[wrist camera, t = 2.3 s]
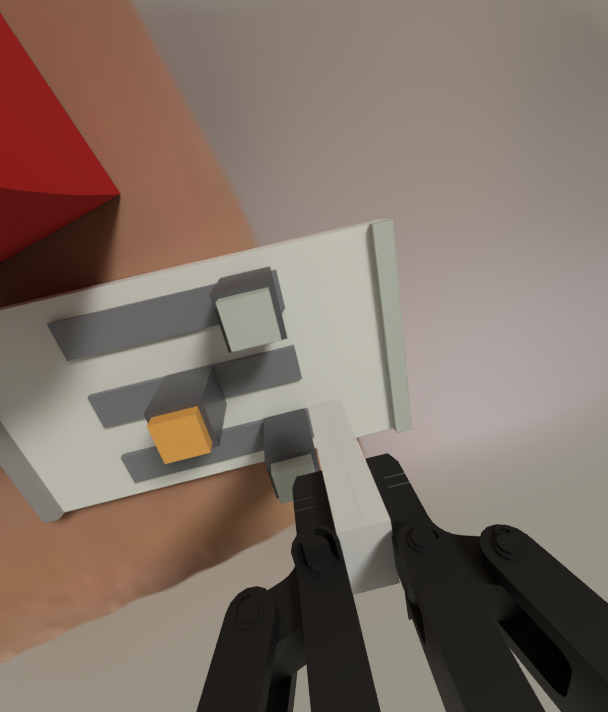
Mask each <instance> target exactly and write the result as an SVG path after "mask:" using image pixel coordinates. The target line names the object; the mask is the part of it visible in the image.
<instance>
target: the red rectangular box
mask: <svg viewBox="0 0 608 712" xmlns="http://www.w3.org/2000/svg"><path fill="white" fill-rule="evenodd" d="M119 194H120V192H119V191H118V189H117V188H116V186H115V185H114V183H113V182H112V180H111V179H110V177H109V176H108V174H107V173H106V171H105V170H104V168H103V167H102V165H101V164H100V162H99V161H98V159H97V158H96V156H95V155H94V153H93V152H92V150H91V149H90V147H89V146H88V144H87V143H86V141H85V140H84V138H83V137H82V135H81V134H80V132H79V131H78V129H77V128H76V126H75V125H74V123H73V122H72V120H71V119H70V117H69V116H68V114H67V113H66V111H65V110H64V108H63V107H62V105H61V104H60V102H59V101H58V99H57V98H56V96H55V95H54V93H53V92H52V90H51V89H50V87H49V86H48V84H47V83H46V81H45V80H44V78H43V77H42V75H41V74H40V72H39V71H38V69H37V68H36V66H35V65H34V63H33V62H32V60H31V59H30V57H29V56H28V54H27V53H26V51H25V50H24V48H23V47H22V45H21V44H20V42H19V41H18V39H17V38H16V36H15V35H14V33H13V32H12V30H11V29H10V27H9V26H8V24H7V23H6V21H5V20H4V18H3V17H2V15H1V14H0V263H1V262H3V261H5V260H7V259H8V258H10V257H12V256H14V255H15V254H17V253H19V252H20V251H22V250H24V249H26V248H27V247H29V246H31V245H33V244H34V243H36V242H38V241H40V240H41V239H43V238H45V237H46V236H48V235H50V234H52V233H53V232H55V231H57V230H59V229H60V228H62V227H64V226H66V225H67V224H69V223H71V222H72V221H74V220H76V219H78V218H79V217H81V216H83V215H85V214H86V213H88V212H90V211H91V210H93V209H95V208H97V207H98V206H100V205H102V204H104V203H105V202H107V201H109V200H111V199H112V198H114V197H116V196H117V195H119Z"/></svg>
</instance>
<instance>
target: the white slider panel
mask: <svg viewBox="0 0 608 712" xmlns="http://www.w3.org/2000/svg"><path fill="white" fill-rule="evenodd" d="M404 349H405V348H404V338H403V326H402V316H401V305H400V294H399V283H398V273H397V261H396V251H395V241H394V229H393V220H387V219H385V220H383V219H382V220H381V219H377V220H374V221H370V222H364V223H360V224H356V225H352V226H347V227H343V228H339V229H334V230H331V231H326V232H321V233H318V234H313V235H309V236H305V237H300V238H296V239H291V240H287V241H283V242H279V243H274V244H270V245H266V246H261V247H257V248H253V249H248V250H244V251H240V252H235V253H231V254H227V255H223V256H218V257H214V258H210V259H205V260H201V261H197V262H192V263H188V264H184V265H180V266H175V267H171V268H167V269H162V270H158V271H154V272H149V273H145V274H141V275H137V276H132V277H128V278H124V279H119V280H115V281H111V282H106V283H102V284H98V285H94V286H89V287H85V288H81V289H76V290H72V291H68V292H64V293H59V294H55V295H51V296H46V297H42V298H38V299H33V300H29V301H25V302H21V303H16V304H12V305H8V306H3V307H0V466H1V467H2V469H3V470H4V471H5V473H6V474H7V475H8V477H9V478H10V479H11V481H12V482H13V483H14V485H15V486H16V487H17V489H18V490H19V491H20V493H21V494H22V495H23V497H24V498H25V499H26V501H27V502H28V503H29V505H30V506H31V507H32V508H33V510H34V511H35V512H36V514H37V515H38V516H39V518H40V519H41V520H42V522H43V523H46V522H50V521H54V520H58V519H60V518H61V517H62V515H63V514H64V512H68V511H72V510H75V509H79V508H83V507H87V506H91V505H95V504H99V503H103V502H107V501H111V500H115V499H119V498H122V497H126V496H130V495H134V494H138V493H142V492H146V491H150V490H154V489H158V488H162V487H166V486H170V485H173V484H177V483H181V482H185V481H189V480H193V479H197V478H201V477H205V476H209V475H213V474H217V473H220V472H224V471H228V470H232V469H236V468H240V467H244V466H248V465H252V464H256V463H260V462H264V461H265V464H266V467H267V470H268V473H269V476H270V479H271V482H272V485H273V488H274V491H275V494H276V498H279V499H280V502H281V504H283V503H287V502H291V501H293V493H292V487H293V484H294V482H295V479H296V477H297V476H301V475H305V474H309V473H313V472H317V471H320V468H319V464H318V460H317V455H316V451H315V448H317V446H316V442H315V437H314V433H313V429H312V424H311V420H310V415H309V411H308V407H307V406H310V405H314V404H318V403H322V402H326V401H330V400H334V399H338V398H340V400H341V403H342V405H343V408H344V410H345V412H346V415H347V417H348V419H349V422H350V424H351V427H352V429H353V431H354V434H355V436H356V438H358V437H362V436H365V435H369V434H373V433H377V432H381V431H385V430H389V429H393V428H394V429H395V431H396V432H397V433H398V432H402V431H406V430H410V429H412V424H411V414H410V402H409V391H408V381H407V370H406V359H405V350H404ZM211 364H213V366H214V369H215V372H216V375H217V377H218V380H219V383H220V386H221V389H222V391H223V394H224V397H225V400H226V403H227V406H226V411H225V417H224V423H223V429H222V435H221V441H220V446H217V447H214V448H211V453H207V454H203V455H199V456H195V457H191V458H187V459H183V460H179V461H175V462H171V463H167V464H165V463H164V461H163V459H162V457H161V455H160V453H159V451H158V449H157V447H156V445H155V443H154V441H153V439H152V437H151V435H150V433H149V431H148V428H147V425H148V423H147V421H146V419H145V417H144V415H143V414H144V412H145V410H146V409H147V407H148V405H149V404H150V402H151V400H152V398H153V397H154V395H155V393H156V392H157V390H158V388H159V387H160V385H161V383H162V381H163V380H164V378H165V376H166V375H170V374H174V373H178V372H182V371H186V370H190V369H194V368H198V367H203V366H207V365H211Z"/></svg>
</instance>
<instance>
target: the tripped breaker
mask: <svg viewBox="0 0 608 712" xmlns="http://www.w3.org/2000/svg"><path fill="white" fill-rule="evenodd" d="M226 406H227V403H226V400H225V397H224V394H223V391H222V389H221V386H220V383H219V380H218V377H217V375H216V372H215V369H214V366H213V364H211V365H207V366H203V367H198V368H194V369H190V370H186V371H182V372H178V373H174V374H170V375H166V376H165V378H164V380H163V381H162V383H161V385H160V387H159V388H158V390H157V392H156V393H155V395H154V397H153V398H152V400H151V402H150V404H149V405H148V407H147V409H146V410H145V412H144V414H143V415H144V417H145V419H146V421H147V423H148V425H147V428H148V431H149V433H150V435H151V437H152V439H153V441H154V443H155V445H156V447H157V449H158V451H159V453H160V455H161V457H162V459H163V461H164V463H165V464H167V463H171V462H175V461H179V460H183V459H187V458H191V457H195V456H199V455H203V454H207V453H211V448H214V447H217V446H220V441H221V435H222V429H223V423H224V417H225V411H226Z"/></svg>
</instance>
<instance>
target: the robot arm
mask: <svg viewBox="0 0 608 712" xmlns="http://www.w3.org/2000/svg"><path fill="white" fill-rule="evenodd" d="M307 407H308V411H309V415H310V420H311V424H312V429H313V433H314V437H315V442H316V446H317V450H318V455H319V459H320V464H321V468H322V470H321V471H317V472H313V473H309V474H305V475H301V476H297V477H296V479H295V482H294V484H293V487H292V493H293V501H294V511H295V522H296V531H297V535H296V537H295V539H294V541H293V543H292V548H291V554H292V557H293V560H294V563H295V567H294V569H293V571H292V572H291V573H290V574H289V576H288V577H286V578H285V579H284V580H283V581H281V582H280V583H278V584H277V585H275V586H274V587H272V588H271V589H269V590H266V589H265V588H262V587H257V586H255V587H250V588H247V589H245V590H243V591H242V592H241V593H239V594H238V595H237V596H236V597H235V598H234V599H233V601H232V602H231V603H230V605H229V607H228V610H227V612H226V614H225V617H224V621H223V624H222V628H221V631H220V634H219V638H218V641H217V644H216V648H215V651H214V654H213V658H212V661H211V664H210V668H209V671H208V675H207V678H206V681H205V685H204V688H203V692H202V695H201V698H200V701H199V705H198V708H197V712H293V706H294V697H295V688H296V679H297V671H298V670H299V669H300V668H302V667H303V666H305V665H306V664H307V674H308V683H309V684H308V685H309V695H310V705H311V712H381V711H380V707H379V702H378V698H377V694H376V690H375V686H374V682H373V678H372V673H371V669H370V665H369V660H368V656H367V652H366V648H365V644H364V640H363V636H362V631H361V627H360V623H359V619H358V614H357V610H356V606H355V602H354V597H353V595H354V594H358V593H362V592H366V591H369V590H374V589H377V588H382V587H386V586H390V585H394V584H397V583H400V582H399V578H400V580H401V583H402V586H403V588H404V591H405V598H406V605H407V612H408V618H409V620H410V619H412V620H413V622H414V625H415V628H416V631H417V634H418V636H419V639H420V642H421V645H422V647H423V650H424V653H425V655H426V658H427V661H428V664H429V666H430V669H431V672H432V675H433V677H434V680H435V683H436V686H437V688H438V691H439V694H440V696H441V699H442V702H443V705H444V707H445V710H446V712H545V710H544V708H543V707H542V705H541V703H540V701H539V700H538V698H537V696H536V695H535V693H534V691H533V689H532V687H531V686H530V684H529V682H528V680H527V678H526V677H525V675H524V673H523V672H522V670H521V668H520V667H519V664H518V663H517V661H516V659H515V657H514V656H513V654H512V652H511V650H512V651H513V653H514V654H515V655H516V656H517V658H518V659H519V660H520V661H521V663H522V664H523V665H524V666H525V667H526V669H527V670H528V671H529V672H530V674H531V675H532V676H533V677H534V679H535V680H536V681H537V682H538V684H539V685H540V686H541V687H542V688H543V690H544V691H545V692H546V693H547V695H548V696H549V697H550V699H551V700H552V701H553V702H554V704H555V705H556V706H557V707H558V708H559V710H560V711H561V712H608V603H607V602H606V601H604V600H603V599H602V598H601V597H600V596H599V595H597V594H596V593H595V592H594V591H593V590H592V589H590V588H589V587H588V586H587V585H586V584H585V583H583V582H582V581H581V580H580V579H579V578H578V577H576V576H575V575H574V574H573V573H572V572H570V571H569V570H568V569H567V568H566V567H565V566H563V565H562V564H561V563H560V562H559V561H558V560H556V559H555V558H554V557H553V556H552V555H551V554H549V553H548V552H547V551H546V550H545V549H543V548H542V547H541V546H540V545H539V544H538V543H536V542H535V541H534V540H533V539H532V538H530V537H529V536H528V535H527V534H525V533H524V532H522V531H521V530H519V529H517V528H514V527H511V526H508V525H499V524H496V525H492V526H489V527H487V528H486V529H485V530H483V531H482V533H481V536H464V535H456V534H452V533H449V532H446V531H444V530H442V529H441V528H439V527H438V526H436V525H435V524H434V523H433V522H432V521H431V519H430V518H429V516H428V515H427V513H426V511H425V509H424V507H423V506H422V504H421V502H420V500H419V499H418V497H417V495H416V493H415V491H414V489H413V487H412V486H411V484H410V483H409V480H408V478H407V477H406V475H405V474H404V471H403V469H402V468H401V466H400V464H399V462H398V461H397V460H395V459H394V458H393V457H392V456H390V455H389V454H388V453H387V454H383V455H379V456H375V457H370V458H366V459H365V458H364V455H363V453H362V451H361V448H360V446H359V443H358V441H357V439H356V436H355V434H354V431H353V429H352V427H351V424H350V422H349V419H348V417H347V415H346V412H345V410H344V408H343V405H342V403H341V400H340V398H338V399H334V400H330V401H326V402H322V403H318V404H314V405H310V406H307ZM508 646H509V647H508ZM510 649H511V650H510Z"/></svg>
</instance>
